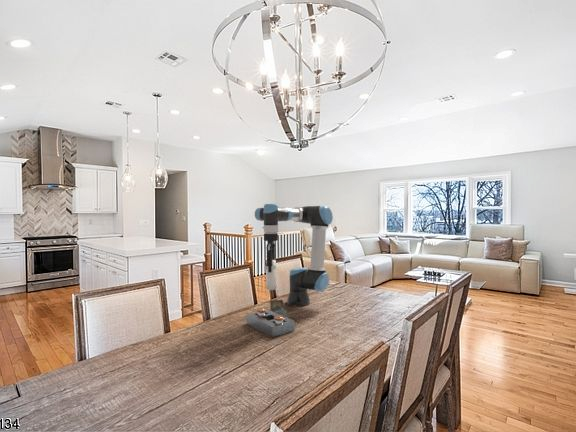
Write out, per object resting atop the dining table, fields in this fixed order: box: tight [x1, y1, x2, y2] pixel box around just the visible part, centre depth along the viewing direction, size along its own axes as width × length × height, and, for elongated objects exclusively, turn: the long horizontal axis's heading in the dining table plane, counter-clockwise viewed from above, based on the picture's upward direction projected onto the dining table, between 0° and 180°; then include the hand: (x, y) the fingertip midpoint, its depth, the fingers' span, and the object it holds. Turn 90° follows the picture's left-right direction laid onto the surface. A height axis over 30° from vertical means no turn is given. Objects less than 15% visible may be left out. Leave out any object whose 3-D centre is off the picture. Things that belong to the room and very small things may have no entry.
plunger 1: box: [256, 307, 267, 316], centre depth 176 cm, size 5×5×7 cm
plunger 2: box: [274, 315, 284, 324], centre depth 163 cm, size 5×5×7 cm
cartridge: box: [265, 259, 277, 291], centre depth 169 cm, size 5×5×16 cm
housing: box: [246, 309, 296, 338], centre depth 169 cm, size 14×24×5 cm, turn 39°
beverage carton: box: [269, 299, 288, 318], centre depth 190 cm, size 8×19×7 cm, turn 9°
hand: (271, 277), depth 169 cm, fingers closed on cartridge, 5 cm apart
